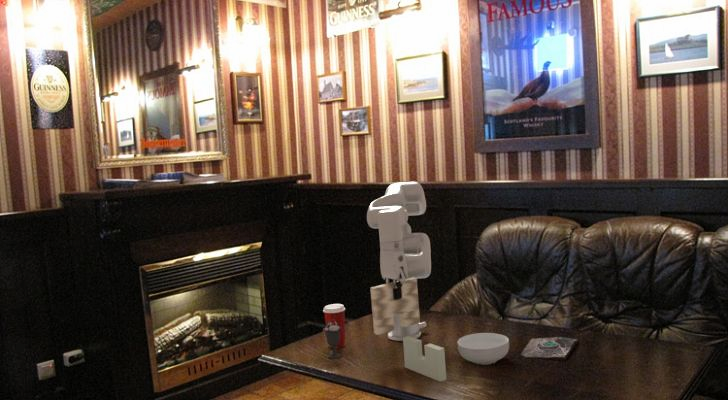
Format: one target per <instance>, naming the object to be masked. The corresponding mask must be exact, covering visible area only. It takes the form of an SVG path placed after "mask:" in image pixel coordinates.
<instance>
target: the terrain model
mask: <svg viewBox="0 0 728 400" xmlns="http://www.w3.org/2000/svg"><path fill="white" fill-rule="evenodd" d="M578 342H579V340H578V339H577V338H570V337H563V336H553V335H552V336H549V337H548V336H546V337H538V338H532V337H531V339H530V340H529V342H528V343H527V345H526V346H525V347H524V348H523V350H522V352H521V353H520V356H523V357H524V358H530V359H531V358H532V359H543V360H553V361H561V362H563V361H564V362H565V361H566V360H567V358H568V357H569V355H570V354H571V352H572V350H573V349H574V348H575V346H576V345H577V343H578Z"/></svg>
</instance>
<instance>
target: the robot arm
mask: <svg viewBox="0 0 728 400" xmlns="http://www.w3.org/2000/svg"><path fill="white" fill-rule="evenodd" d="M425 195H426V194H425V192H424V188H423V187H422V185H421V184H420V182H417V181H406V182H405V181H404V182H395V183H391V184H389V186H388V187H387V188H386V190H385V193H384V195H383V196H381V197H379V198H377V199H374V200H373V201H372V202H371V203H370V205H369V206H368V209H367V213H366V221H367V224H368V227H370V228H372V229H378V234H379V237H378V238H379V248H380V253H379V254H380V255H379V256H380V257H379V265H380V267H379V268H380V275H381V278H382V279H383V280H384V281H385V284H387V283H391V282H393V283H394V288H393V296H394V300H397V299H401V298H402V289H401V287H402V285H403V283H405V282H406V279H407V278H412V277H413V278H417V280H418V279H426V278H428V277H429V276H430V275H431V272H432V259H431V258H432V257H431V255H432V254H431V252H432V251H431V241H430V237H429V236H428V235H427V234H426V233H424V232H412V228H411V225H410V224H409V223H408V220H409V216H420V215H424V214H425V213H426V210H427V201H426V196H425ZM397 281H398V282H397ZM393 319H394V331H390V332H387V338H388V339H389V340H391V341H396V342H403V338H404V337H407V336H410V337H413V338H416V339H419V338H420V337H421V336H422V332H421V330H420V329H422V328H425V327H427V322H426V321H422V322H420V323H417V324H414V325H411V326H407V327H403V326H400V314H399V315H395V316H393Z"/></svg>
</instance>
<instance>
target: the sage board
mask: <svg viewBox="0 0 728 400" xmlns="http://www.w3.org/2000/svg"><path fill="white" fill-rule="evenodd" d="M402 343H403V345H402V346H403V357H404V368H406V369H408V370H411V371H413V372H416V373H418V374H419V375H423V376H426V377H428V378H430V379H433V380H436V381H438V382H444V381H447V368H446V367H447V366H446V356H445V355H446V354H445V347H441V346H440V345H437V344H434V343H427V344H424V345H423V344H422V343H423V342H422V340H421V339H419V338H417V339H416V338H413V337H410V336H407V337H404V338H403V341H402ZM423 347H424V355H423Z"/></svg>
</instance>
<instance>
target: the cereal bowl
mask: <svg viewBox="0 0 728 400" xmlns="http://www.w3.org/2000/svg"><path fill="white" fill-rule="evenodd" d="M456 344H457V349H458V352H459V355H460V356H461V358H463V359H464V360H466V361H469V362H472V363H473V364H475V363H476V364H475V365H479V364H481V365H480V366H487V365H492V363H493V364H495V363H497V361H499V360H502V359H503V358H505V357H506V356H507V354H508V352H509V349H510V340H509V338H508V337H507V336H506V335H504V334H501V333H500V334H499V333H495V332H479V333H471V334H466V335H464V336H461V337H460V338H459V339H458V340H457V343H456Z"/></svg>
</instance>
